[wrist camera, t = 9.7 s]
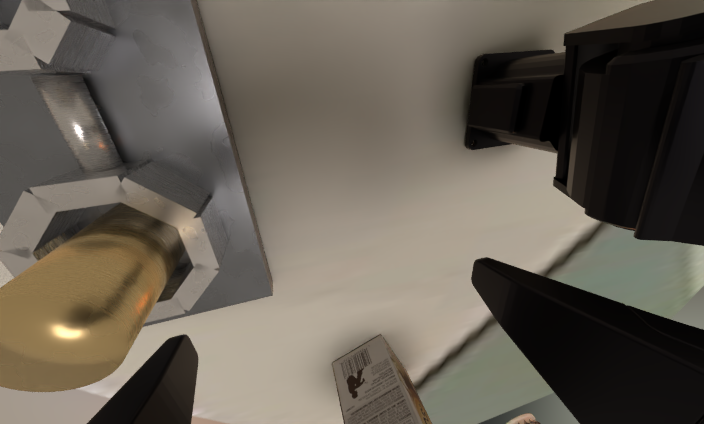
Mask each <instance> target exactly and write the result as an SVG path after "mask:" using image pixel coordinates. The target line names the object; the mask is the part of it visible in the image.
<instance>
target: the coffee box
mask: <svg viewBox="0 0 704 424" xmlns="http://www.w3.org/2000/svg"><path fill="white" fill-rule="evenodd" d="M332 367H333V372H334V376H335V381H336V386H337V391H338V396H339V401H340V406H341V411H342V415H343V420H344V424H432V423H431V421H430V418H429V416H428V414H427V412H426V410H425V408H424V406H423V404H422V402H421V400H420V398H419V396H418V394H417V392H416V390H415V387H414V385H413V383H412V381H411V379H410V377H409V375H408V373H407V372H406V370H405V369H404V367H403V366H402V364H401V363H400V361H399V360H398V359H397V357H396V356H395V354H394V353H393V351H392V350H391V348H390V347H389V346H388V344H387V343H386V341H385V340H384V338H383V337H382V336H381V335H379V336H377V337H376V338H374V339H372V340H371V341H369V342H367V343H366V344H364V345H362V346H360V347H359V348H357V349H355V350H354V351H352V352H350V353H348V354H347V355H345V356H343V357H342V358H340V359H338V360H336V361H335V362H333V364H332Z"/></svg>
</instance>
